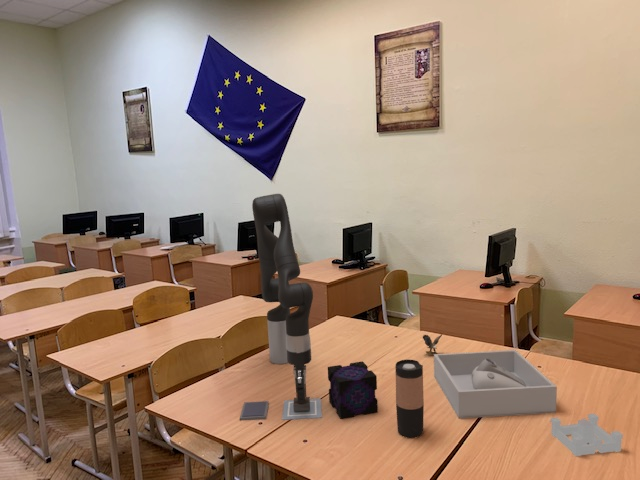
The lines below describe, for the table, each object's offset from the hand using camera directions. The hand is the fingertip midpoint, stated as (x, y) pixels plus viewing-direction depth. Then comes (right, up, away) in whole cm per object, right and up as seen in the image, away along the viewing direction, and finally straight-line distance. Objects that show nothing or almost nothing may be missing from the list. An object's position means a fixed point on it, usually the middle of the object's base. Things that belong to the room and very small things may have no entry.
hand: (301, 398), depth 154 cm
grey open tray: (+61, 0, +5) cm, 61 cm away
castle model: (+76, -5, -25) cm, 80 cm away
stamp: (0, -3, 0) cm, 3 cm away
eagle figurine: (+50, +5, +40) cm, 64 cm away
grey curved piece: (+63, +1, +5) cm, 63 cm away
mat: (0, -4, +1) cm, 4 cm away
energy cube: (+16, -3, +1) cm, 16 cm away
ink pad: (-15, -4, 0) cm, 15 cm away
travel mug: (+31, -5, -15) cm, 35 cm away
